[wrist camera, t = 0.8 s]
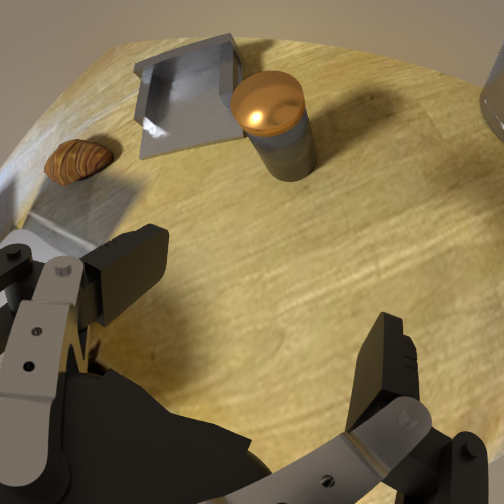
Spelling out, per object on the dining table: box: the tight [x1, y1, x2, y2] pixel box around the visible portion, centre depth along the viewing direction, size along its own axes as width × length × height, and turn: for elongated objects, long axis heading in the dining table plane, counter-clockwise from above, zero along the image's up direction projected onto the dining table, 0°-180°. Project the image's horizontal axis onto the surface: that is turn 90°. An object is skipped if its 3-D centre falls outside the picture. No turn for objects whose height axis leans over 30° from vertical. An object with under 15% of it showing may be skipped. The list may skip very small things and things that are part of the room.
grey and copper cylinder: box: [230, 71, 317, 182], centre depth 25 cm, size 5×5×10 cm
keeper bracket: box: [133, 33, 245, 160], centre depth 33 cm, size 12×12×5 cm
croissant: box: [44, 139, 113, 185], centre depth 37 cm, size 14×7×5 cm, turn 85°
